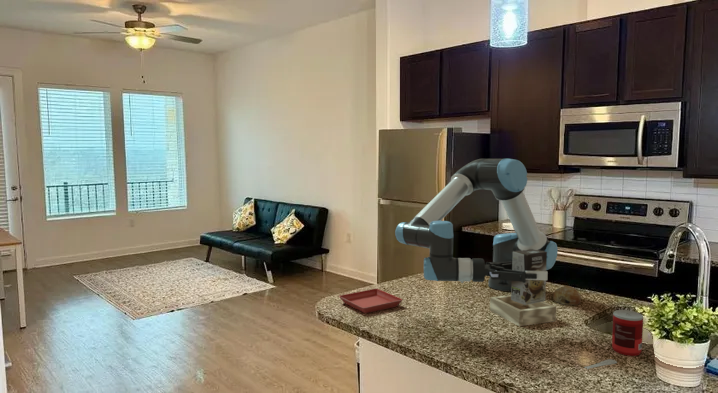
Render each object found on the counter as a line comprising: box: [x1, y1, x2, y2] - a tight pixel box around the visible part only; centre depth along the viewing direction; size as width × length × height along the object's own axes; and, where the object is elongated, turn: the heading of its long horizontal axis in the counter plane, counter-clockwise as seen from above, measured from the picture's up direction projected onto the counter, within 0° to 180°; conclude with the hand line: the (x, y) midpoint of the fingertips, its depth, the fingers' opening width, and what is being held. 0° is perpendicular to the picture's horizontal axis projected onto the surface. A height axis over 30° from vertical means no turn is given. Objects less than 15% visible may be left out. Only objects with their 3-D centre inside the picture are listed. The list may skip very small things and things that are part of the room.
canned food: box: [611, 309, 644, 357], centre depth 143 cm, size 8×8×11 cm
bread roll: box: [552, 285, 582, 306], centre depth 191 cm, size 10×10×8 cm
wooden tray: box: [489, 294, 557, 327], centre depth 174 cm, size 15×17×5 cm
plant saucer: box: [338, 288, 404, 314], centre depth 187 cm, size 18×18×3 cm
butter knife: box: [584, 358, 618, 370], centre depth 131 cm, size 1×24×3 cm
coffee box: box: [510, 249, 547, 305], centre depth 157 cm, size 9×6×16 cm
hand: (542, 271), depth 157 cm, fingers closed on coffee box, 10 cm apart
